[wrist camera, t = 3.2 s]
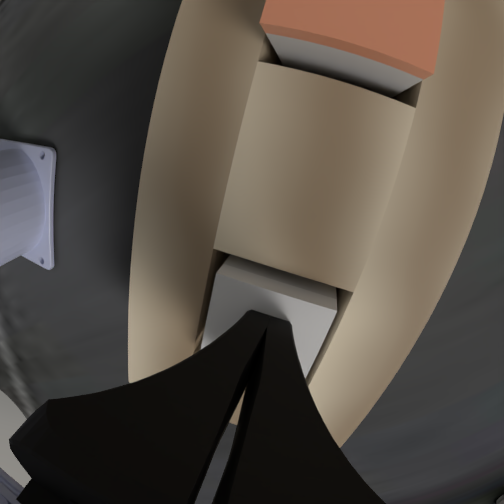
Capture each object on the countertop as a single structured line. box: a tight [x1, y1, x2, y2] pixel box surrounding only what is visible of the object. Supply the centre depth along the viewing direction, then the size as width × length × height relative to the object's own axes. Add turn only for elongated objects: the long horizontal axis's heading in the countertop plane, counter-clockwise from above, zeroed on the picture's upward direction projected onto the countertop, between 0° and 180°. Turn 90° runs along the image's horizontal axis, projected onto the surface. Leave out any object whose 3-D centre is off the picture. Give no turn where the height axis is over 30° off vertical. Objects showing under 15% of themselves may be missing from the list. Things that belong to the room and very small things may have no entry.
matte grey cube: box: [201, 254, 337, 378], centre depth 12 cm, size 4×4×5 cm
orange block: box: [259, 0, 445, 98], centre depth 6 cm, size 4×4×5 cm
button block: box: [128, 0, 504, 448], centre depth 10 cm, size 10×21×5 cm, turn 167°
